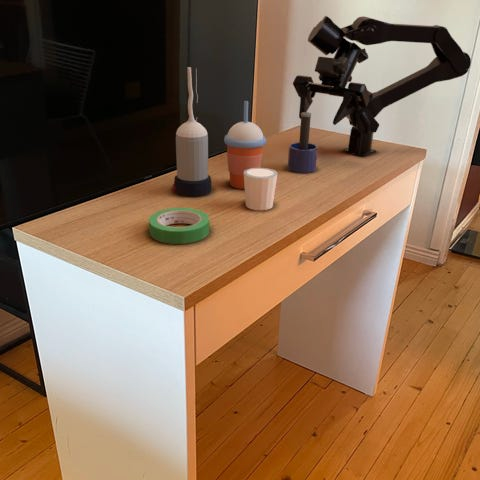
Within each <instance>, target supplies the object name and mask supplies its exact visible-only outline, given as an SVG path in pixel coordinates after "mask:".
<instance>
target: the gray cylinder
mask: <svg viewBox="0 0 480 480" xmlns="http://www.w3.org/2000/svg"><path fill="white" fill-rule="evenodd" d="M311 117H312V113H311V112H308V111H307V112H303V113H301V119H300V126H299V127H300V128H299V141H298V143H299V149H300V150H308V143H310V142H309V140H310V132H311V131H310V130H311V129H310V128H311V120H312V119H311Z"/></svg>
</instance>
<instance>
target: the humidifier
mask: <svg viewBox="0 0 480 480" xmlns="http://www.w3.org/2000/svg"><path fill="white" fill-rule="evenodd" d="M186 69H187V91H188V99H187V111H188V119H187V121H185V122H184V123H182V124H181V125H180V126H178V128H177V130H176V132H175V154H176V155H175V156H176V175H175V176H174V181H173V182H174V183H173V184H172V190H173V192H174V193H175V194H176V195H178V196H182V197H187V198H198V197H199V198H200V197H205V196H207V195H210V194H211V193H212V176H210V175H209V135H208V131H207V128H206V127H204V126H203V125H202V124H201V123H199V122H198V121H197V120H198V118H196V119H195V117H194V111H193V101H194V91H193V79H192V67H190V66H188V67H187V68H186ZM197 75H198V74H197V69H195V88H197V87H198V85H197V84H198V81H197V78H198V77H197ZM195 92H196V93H195V94H196V102H198V100H199V96H198V92H197V90H195Z"/></svg>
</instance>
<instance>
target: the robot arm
mask: <svg viewBox="0 0 480 480" xmlns="http://www.w3.org/2000/svg"><path fill="white" fill-rule="evenodd" d="M350 41H352V42H350ZM353 41H355V42H356V43H355V42H353ZM307 42H308V43H310V45H312V46H313V47H315V49H317V50H318V51H319V52H321V53H322V54H323V55H324V56H318V57H317V60H316V63H315V68H314V72H315V73H318V80H319V81H321V83H317V82H314V80H313V78H312V76H309V75H301V74H299V75H296V76H295V78H294V79H293V82H292V85H293V87H294V89H295V92H296V94H297V96H298V97H299V99H300V102H299V111H298V112H299V113H298V118H299V120H301V113H303V112H308V110H309V109H310V107H311V106H312V104H313V102H314V100H313V98H315V96H316V94H317V93H318V94H324V95H329V96H333V97H334V96H335V97H340V98H342V101H341V103H340V105H339V107H338V109H337V111H336V113H335V115H334V117H333V120H332V124H333V126H337V124H339V123H340V122H341V121H342V120H344V119H345V118H346V119H347V120H348V122H349V125H350V126H351V128H350V133H349V140H348V147H347V148H344V149H343V152H344V153H348V154H351V155H355V156H360V157H366V156H369V155H371V154H374V153H376V152H377V150H376V149H373V148H372V146H373V140H374V133H377V131H378V129H379V127H380V123H379V122H378V121H377V120H376V117H377V116H378V115H379V114H380V113H381V112H382V110H384V109H385V108H387V107H389V106H390V105H394V104H395V103H397V102H399V101H401V100H403V99H405V98H407V97H410V96H411V95H413V94H415V93H417V92H419V91H421V90H423V89H425V88H427V87H429V86H431V85H433V84H436V83H439V82H445V81H450V80H454V79H457V78H460V77H464V76H465V75H466V74H467V73H468V72H469V69H470V68H471V63H472V58H471V56H470V54H469V53H468V52H465V51H463V49H462V48H461V46H460V44H458V42H457V41H456V40H455V39H454V37H453V36H452V35H451V33H450V32H449V30H448V28H447V27H446V26H442V25H439V24H435V25H423V24H421V25H420V24H405V23H390V22H387V21H382V20H379V19H376V18H371V17H367V16H364V15H363V16H359V17H356V19H354V21H353V22H352V23H351V24H348V25H346V26H343V27H341V28H340V27H339V25H337V24H336V23H334V21H333V20H332V19H331V18H330V17H329V16H328V15H324V17H323V18H322V19H321V20H320V21H319V22H318V23H317V24H316V25H315V26H314V27H312V30H311V31H310V33H309V35H308V37H307ZM388 42H400V43H403V42H404V43H417V44H418V43H419V44H421V43H422V44H430V45H431V48H432V50H433V53H434V55H435V56H436V57H434V58H433V59H432V60H431V61H430V63H429V64H428V65H427V66H425V67H423V68H421V69H419V70H417V71H415V72H413V73H411V74H409V75H407V76H405V77H403V78H401V79H398V80H397V81H395V82H393V83H391V84H390V85H388V86H385V87H383V88H381V89H379V90H377V91H375V92H371V91H370V90H368V88H367V85H366V83H361V82H353V81H352V80H353V77H352V75H353V72H354V70H355V68H356V66H357V64H361V63H363V62H365V61H367V60H368V59H369V54H368V53H367V51H366V48H364V47H363V48H362V47H360V46H359V45H358V44H361V45H364V46H373V45H380V44H384V43H388ZM357 43H358V44H357ZM328 55H334V56H333V57H327V56H328ZM347 85H348V86H347Z"/></svg>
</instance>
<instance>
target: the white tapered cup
mask: <svg viewBox="0 0 480 480" xmlns="http://www.w3.org/2000/svg"><path fill="white" fill-rule="evenodd" d="M277 179H278V172H277V170H275V169H272V168H267V167H261V168H250V169H247V170H245V171H244V186H245V189H244V198H245V200H244V201H245V207H246V208H248V209H250V210H254V211H267V210H270V209H272V208H273V207H274V200H275V194H276V187H277V181H278V180H277Z"/></svg>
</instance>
